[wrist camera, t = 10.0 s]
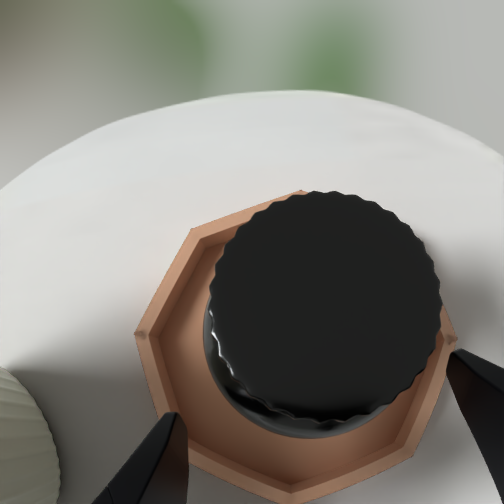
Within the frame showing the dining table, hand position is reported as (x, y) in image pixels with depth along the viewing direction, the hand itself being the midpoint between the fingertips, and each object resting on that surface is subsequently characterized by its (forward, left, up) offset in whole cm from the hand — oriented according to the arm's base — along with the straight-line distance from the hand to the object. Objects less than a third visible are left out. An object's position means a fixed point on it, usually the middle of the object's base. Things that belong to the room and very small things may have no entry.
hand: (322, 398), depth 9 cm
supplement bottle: (+2, 0, -8) cm, 8 cm away
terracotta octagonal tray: (+2, 0, -9) cm, 9 cm away
